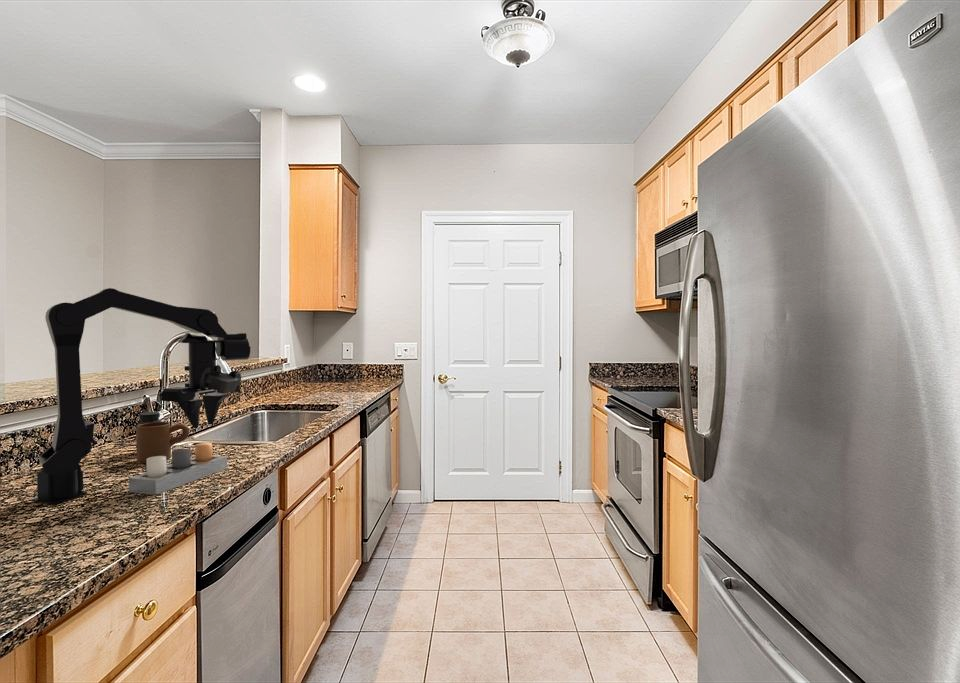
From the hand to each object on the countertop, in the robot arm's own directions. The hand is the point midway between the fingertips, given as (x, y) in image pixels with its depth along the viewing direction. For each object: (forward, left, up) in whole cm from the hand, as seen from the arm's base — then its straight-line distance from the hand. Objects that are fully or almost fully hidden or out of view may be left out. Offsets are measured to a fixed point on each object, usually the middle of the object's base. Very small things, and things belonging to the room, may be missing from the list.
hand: (203, 426), depth 119 cm
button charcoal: (-6, 0, -9) cm, 11 cm away
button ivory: (-13, 0, -9) cm, 16 cm away
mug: (+7, +20, -11) cm, 24 cm away
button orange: (0, 0, -9) cm, 9 cm away
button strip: (-6, 0, -11) cm, 13 cm away
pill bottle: (+12, +30, -11) cm, 34 cm away
